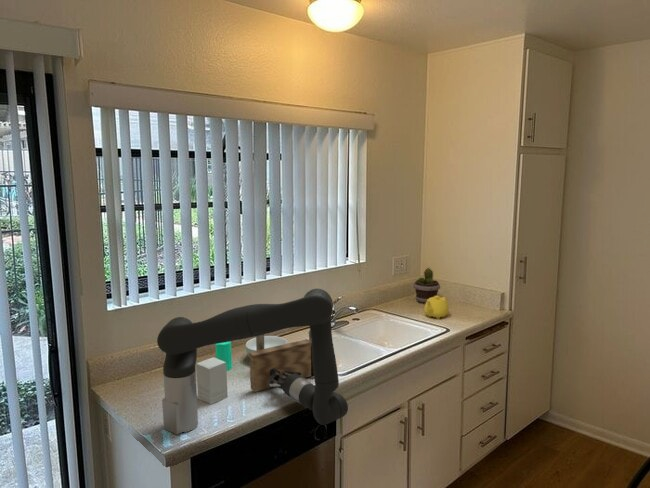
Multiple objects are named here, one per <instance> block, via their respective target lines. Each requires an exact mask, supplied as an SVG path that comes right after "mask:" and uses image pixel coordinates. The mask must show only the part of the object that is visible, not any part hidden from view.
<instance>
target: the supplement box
mask: <svg viewBox="0 0 650 488" xmlns="http://www.w3.org/2000/svg"><path fill="white" fill-rule="evenodd" d="M195 368H196V387H197V399H199V400H201V401H203V402H205V403H206V404H208V405H213V404H215V403H217V402H219V401H222V400H224V399H227V398H228V396H229V395H228V379H227V378H228V377H227V376H228V375H227V374H228V373H227V371H226V362H224V361H222V360H219V359H217V358H216V357H210V358H207V359H205V360H202V361H199V362H196V365H195Z"/></svg>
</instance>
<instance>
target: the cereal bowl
mask: <svg viewBox="0 0 650 488" xmlns="http://www.w3.org/2000/svg"><path fill="white" fill-rule="evenodd" d="M283 344H288V340H287V339H286V338H284V337H281V336H276V335H264V349H266V348H270V347H275V346H279V345H283ZM253 351H256V337H252V338H251V339H249V340H248V341H247V342H245V352H246V354H247V356H248V357H249V358H250V356H249V352H253Z"/></svg>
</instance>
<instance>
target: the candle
mask: <svg viewBox="0 0 650 488" xmlns="http://www.w3.org/2000/svg"><path fill="white" fill-rule="evenodd" d="M214 345H215V346H214V348H215V358H217V359H219V360H222V361H224V362H226V372H227V371H229V370H231V369H232V368H233V362H232V360H233V357H232V341H229V342H224V343H218V344H214Z"/></svg>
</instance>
